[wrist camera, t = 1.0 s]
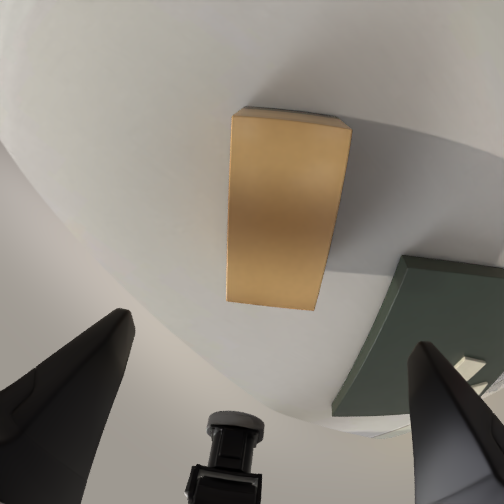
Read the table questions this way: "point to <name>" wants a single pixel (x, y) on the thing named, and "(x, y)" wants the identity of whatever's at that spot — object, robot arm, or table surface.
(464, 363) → the grey square tile
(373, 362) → the chalkboard
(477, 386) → the pale grey flat square
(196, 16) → the table surface
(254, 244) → the tan rectangular block
